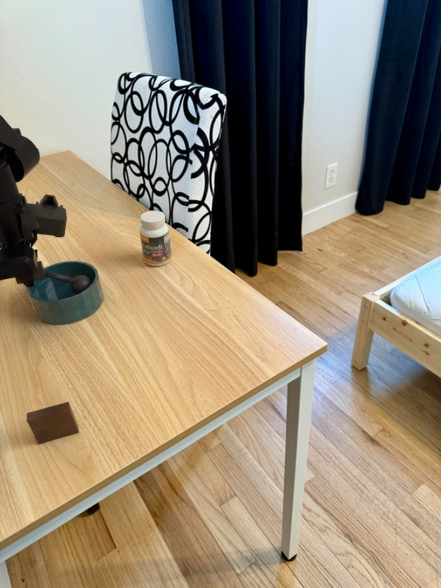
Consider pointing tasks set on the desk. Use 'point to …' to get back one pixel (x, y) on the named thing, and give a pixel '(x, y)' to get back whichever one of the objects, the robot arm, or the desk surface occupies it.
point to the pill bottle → (155, 238)
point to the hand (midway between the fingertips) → (30, 282)
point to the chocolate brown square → (52, 422)
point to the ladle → (62, 279)
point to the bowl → (66, 294)
